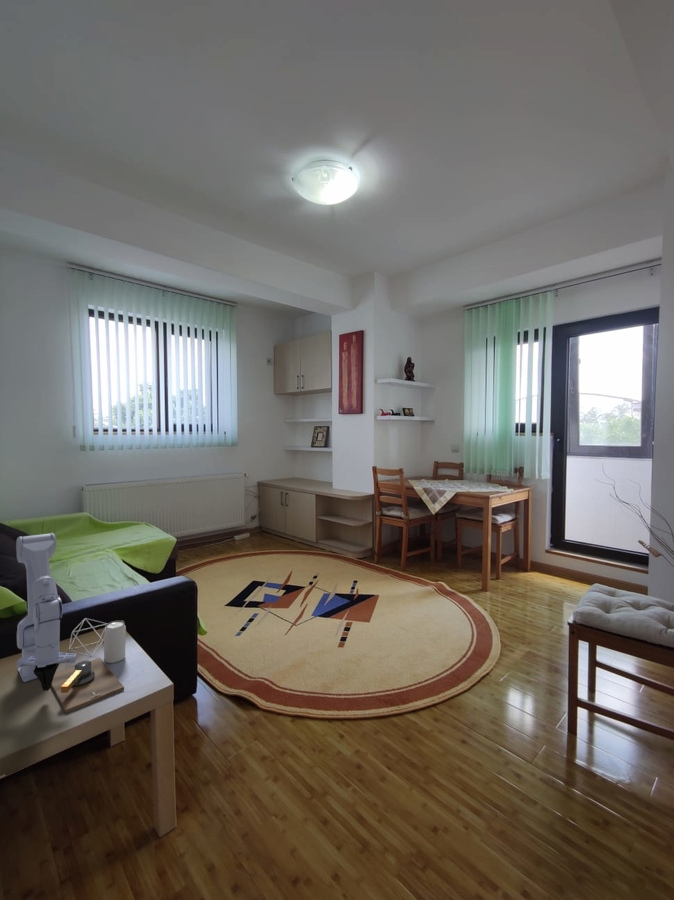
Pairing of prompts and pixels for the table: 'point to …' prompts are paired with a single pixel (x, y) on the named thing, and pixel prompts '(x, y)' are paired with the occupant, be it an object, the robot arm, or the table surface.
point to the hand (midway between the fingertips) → (47, 688)
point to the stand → (86, 686)
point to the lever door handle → (79, 676)
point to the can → (114, 641)
